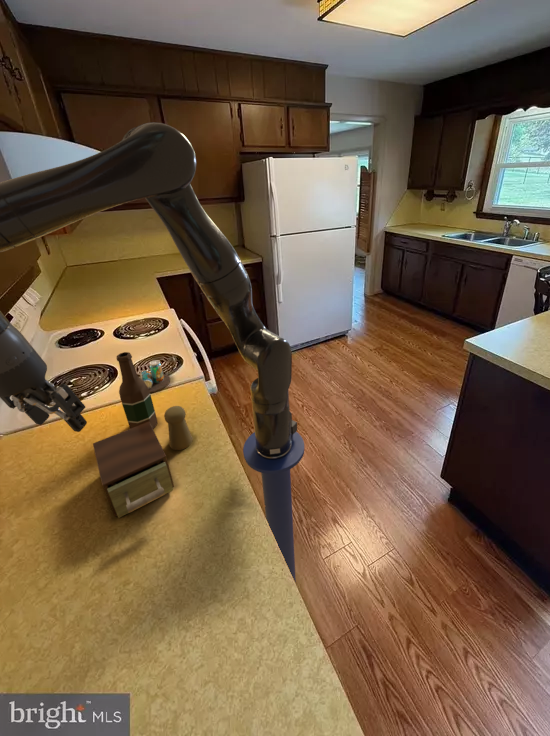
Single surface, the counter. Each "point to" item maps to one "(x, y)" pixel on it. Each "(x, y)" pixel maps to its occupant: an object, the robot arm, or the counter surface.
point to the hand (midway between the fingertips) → (62, 424)
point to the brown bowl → (155, 377)
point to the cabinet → (128, 455)
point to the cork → (178, 428)
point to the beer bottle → (135, 394)
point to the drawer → (140, 488)
